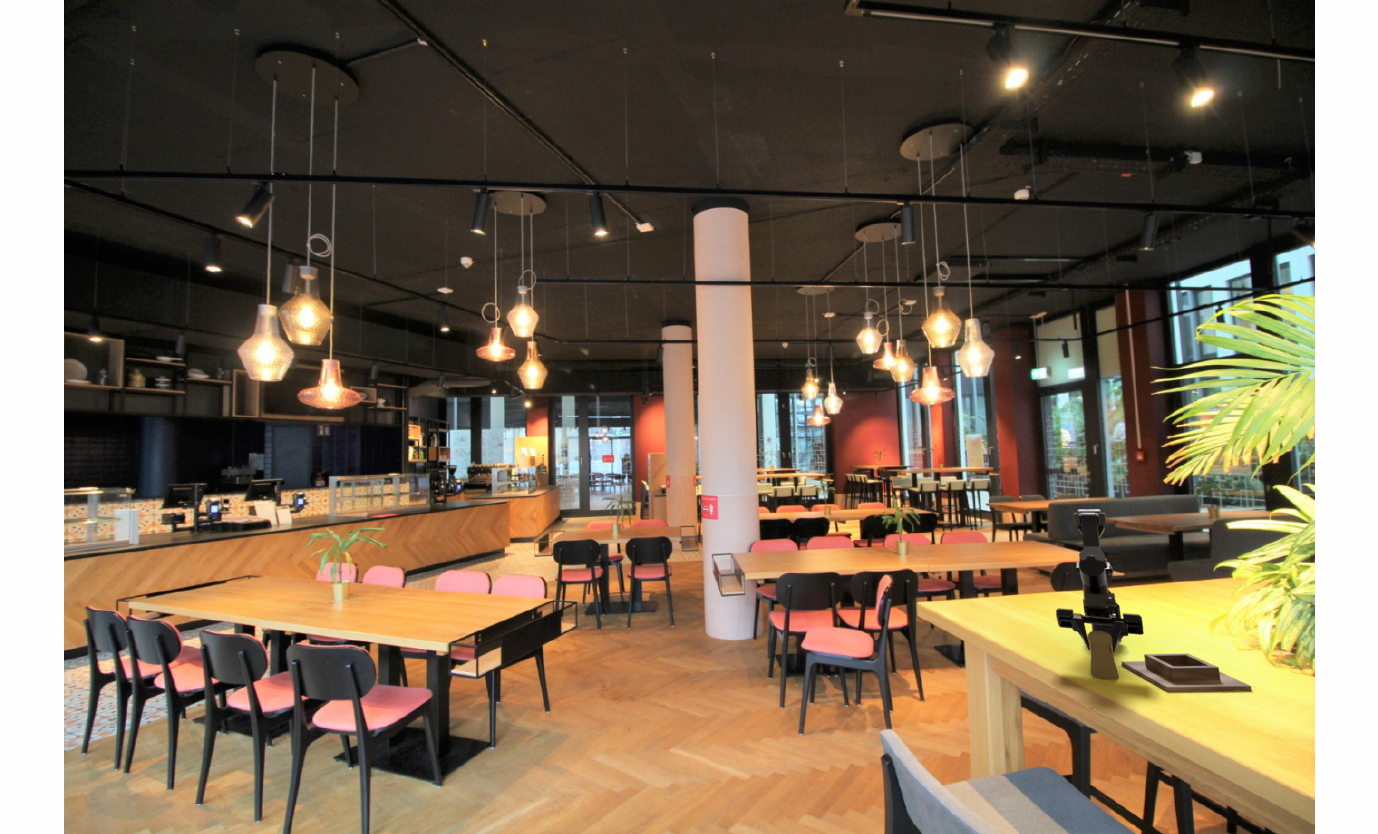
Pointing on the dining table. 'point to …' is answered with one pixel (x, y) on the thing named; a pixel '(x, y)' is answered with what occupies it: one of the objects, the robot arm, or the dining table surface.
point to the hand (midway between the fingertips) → (1101, 650)
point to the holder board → (1183, 673)
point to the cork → (1102, 656)
